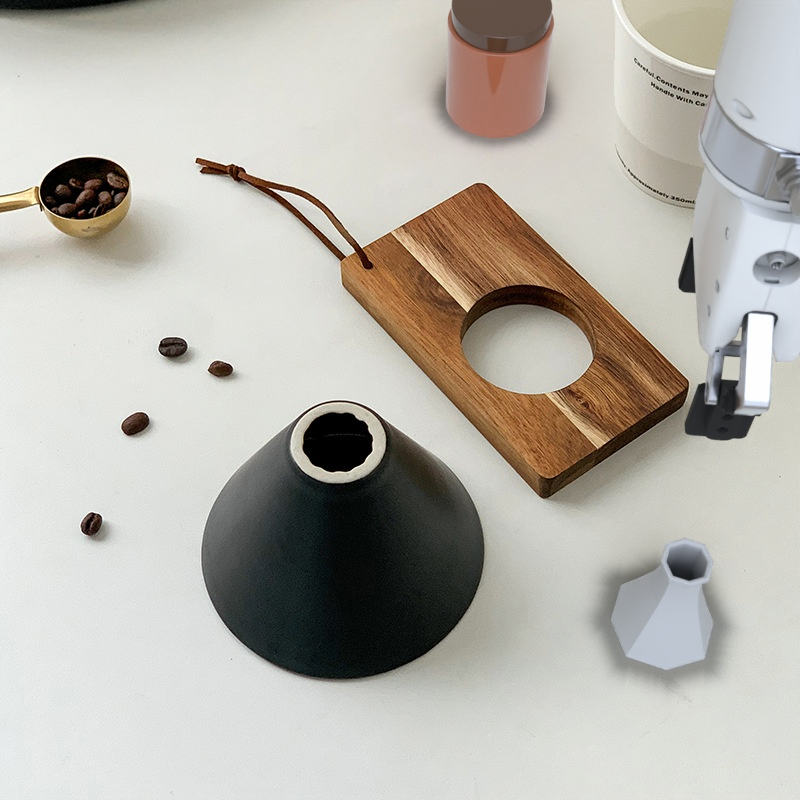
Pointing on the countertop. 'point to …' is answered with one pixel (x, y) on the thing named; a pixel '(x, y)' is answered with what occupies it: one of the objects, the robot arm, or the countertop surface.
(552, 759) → the countertop surface
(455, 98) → the jar
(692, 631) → the flask
